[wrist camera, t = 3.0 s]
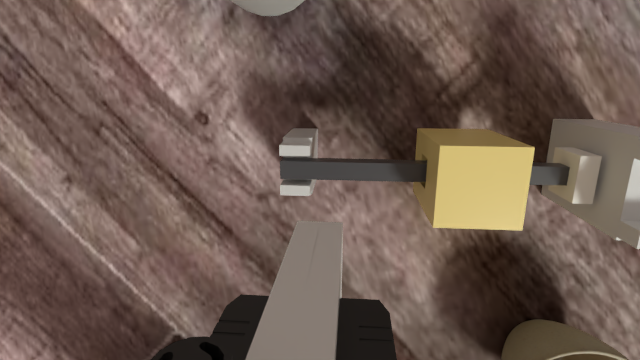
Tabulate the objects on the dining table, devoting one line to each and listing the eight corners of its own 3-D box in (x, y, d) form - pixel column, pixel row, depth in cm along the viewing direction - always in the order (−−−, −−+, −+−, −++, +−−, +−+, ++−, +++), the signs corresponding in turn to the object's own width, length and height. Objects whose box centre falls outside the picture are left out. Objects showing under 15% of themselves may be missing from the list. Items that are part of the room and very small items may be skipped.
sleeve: (413, 190, 29) (432, 227, 22) (417, 128, 28) (440, 145, 21) (480, 192, 29) (522, 230, 22) (487, 129, 28) (534, 147, 21)
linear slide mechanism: (293, 187, 32) (267, 239, 22) (293, 115, 31) (264, 135, 20) (580, 195, 31) (695, 254, 20) (594, 119, 29) (727, 142, 19)
